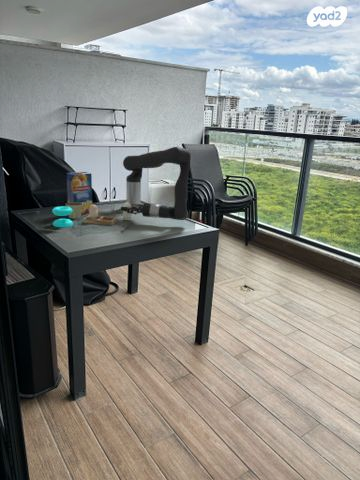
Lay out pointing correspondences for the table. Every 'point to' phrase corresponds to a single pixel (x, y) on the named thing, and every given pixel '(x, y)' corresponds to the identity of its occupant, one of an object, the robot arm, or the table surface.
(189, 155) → the robot arm
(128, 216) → the cream egg
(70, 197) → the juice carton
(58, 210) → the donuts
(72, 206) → the flower pot
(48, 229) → the table surface
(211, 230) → the table surface
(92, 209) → the brown egg
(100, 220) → the egg holder
